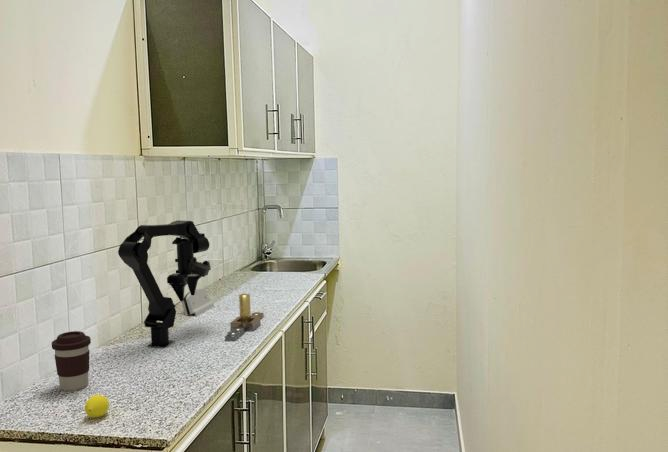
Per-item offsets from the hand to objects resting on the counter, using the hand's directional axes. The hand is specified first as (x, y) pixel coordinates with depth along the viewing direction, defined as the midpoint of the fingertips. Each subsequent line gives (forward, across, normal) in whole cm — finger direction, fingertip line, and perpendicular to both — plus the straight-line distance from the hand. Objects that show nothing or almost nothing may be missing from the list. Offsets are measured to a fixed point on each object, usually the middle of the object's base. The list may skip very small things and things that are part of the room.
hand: (187, 298), depth 216 cm
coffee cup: (+13, -53, +10) cm, 56 cm away
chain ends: (+13, +10, -18) cm, 24 cm away
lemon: (+13, -70, -8) cm, 72 cm away
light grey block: (+13, +31, +10) cm, 35 cm away
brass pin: (+13, +10, -18) cm, 24 cm away
